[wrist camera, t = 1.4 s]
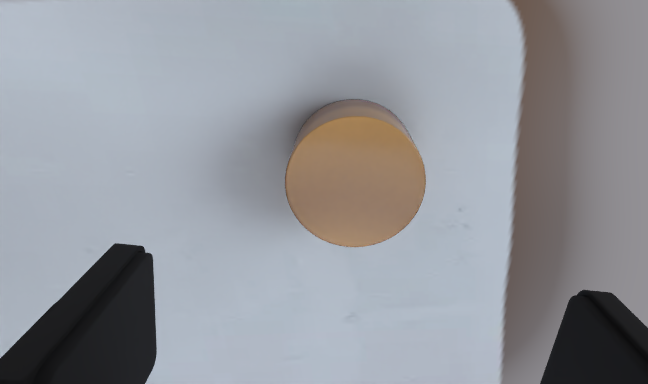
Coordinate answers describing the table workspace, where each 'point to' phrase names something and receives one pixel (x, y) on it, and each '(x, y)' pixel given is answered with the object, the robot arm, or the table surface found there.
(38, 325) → the robot arm
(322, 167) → the copper brown cylinder
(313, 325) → the table surface
